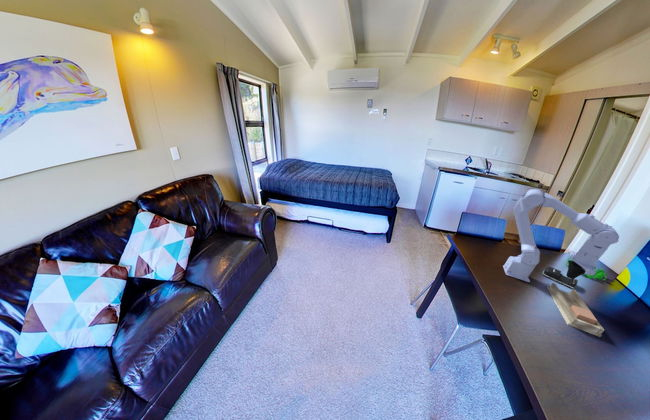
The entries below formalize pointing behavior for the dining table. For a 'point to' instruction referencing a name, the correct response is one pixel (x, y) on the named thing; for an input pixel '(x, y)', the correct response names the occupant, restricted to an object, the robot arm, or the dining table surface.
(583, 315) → the block
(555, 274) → the battery charger
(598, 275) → the green irregular lump
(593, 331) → the chute
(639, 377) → the dining table surface
